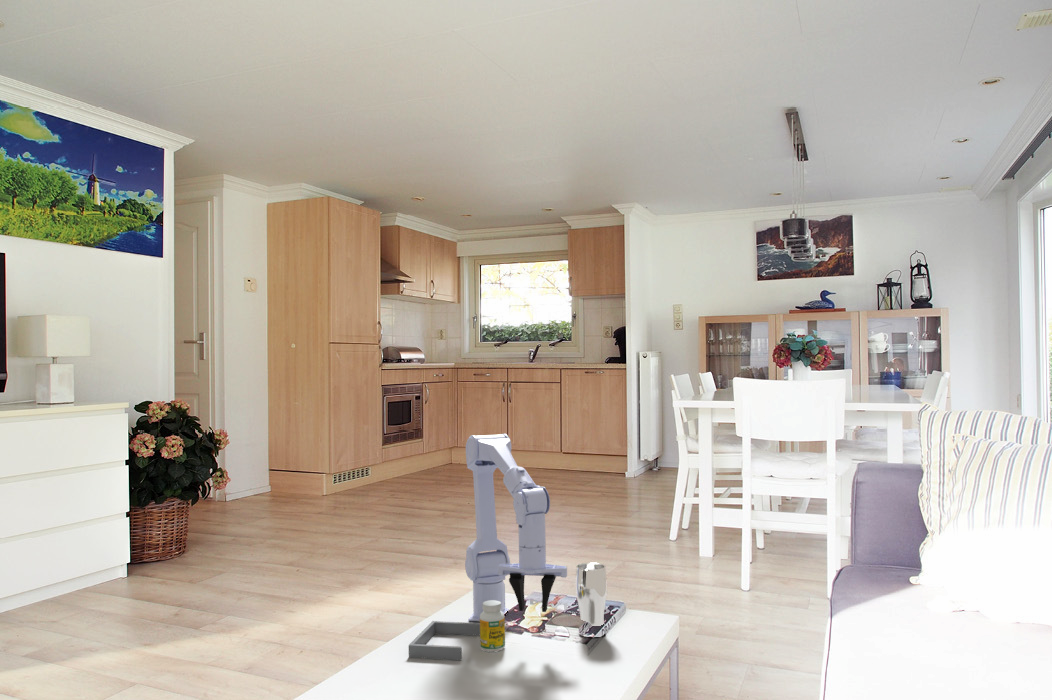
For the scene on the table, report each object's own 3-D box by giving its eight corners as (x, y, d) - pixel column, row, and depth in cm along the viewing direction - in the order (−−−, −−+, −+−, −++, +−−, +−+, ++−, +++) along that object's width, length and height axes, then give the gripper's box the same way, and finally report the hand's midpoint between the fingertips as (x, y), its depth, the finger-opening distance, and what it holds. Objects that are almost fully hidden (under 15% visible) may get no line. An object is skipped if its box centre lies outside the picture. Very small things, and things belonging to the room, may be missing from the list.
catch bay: (432, 632, 169) (432, 620, 169) (480, 634, 167) (480, 623, 167) (408, 657, 154) (408, 645, 154) (460, 660, 152) (460, 648, 152)
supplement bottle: (496, 642, 162) (496, 597, 163) (510, 649, 158) (509, 603, 158) (475, 647, 159) (474, 601, 160) (488, 654, 155) (487, 608, 155)
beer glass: (607, 628, 169) (606, 562, 170) (608, 639, 163) (606, 570, 163) (577, 628, 170) (575, 562, 171) (576, 638, 163) (574, 570, 164)
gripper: (494, 548, 155) (495, 614, 155) (563, 550, 152) (564, 617, 152) (502, 541, 162) (503, 604, 162) (568, 542, 159) (569, 607, 159)
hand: (533, 610), depth 157 cm, fingers open, 4 cm apart
